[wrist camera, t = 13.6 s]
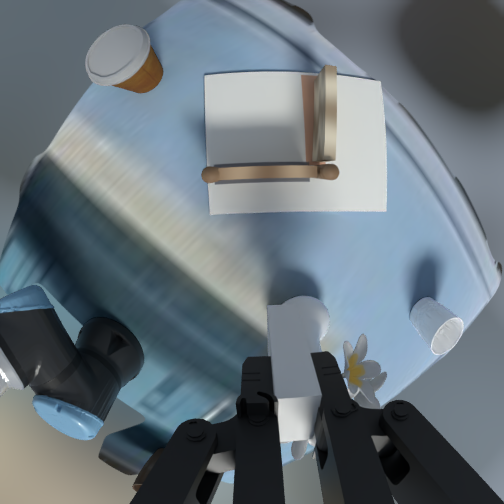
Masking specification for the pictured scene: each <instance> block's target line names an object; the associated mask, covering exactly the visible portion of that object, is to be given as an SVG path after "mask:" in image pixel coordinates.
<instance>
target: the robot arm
mask: <svg viewBox="0 0 504 504" xmlns="http://www.w3.org/2000/svg"><path fill="white" fill-rule="evenodd" d="M267 322H268V356H262V357H247V359H246V360H245V362H244V363H243V364H242V382H241V395H240V396H239V397H238V398H237V401H236V409H237V414H236V415H235V416H234V417H233V418H231V419H230V420H228V421H225V422H221V423H217V424H211V423H210V422H208V421H206V420H204V419H196V418H195V419H190V420H187V421H185V422H183V423H181V424H180V425H179V426H178V428H177V429H176V431H175V432H174V434H173V436H172V437H171V439H170V441H169V442H168V444H167V445H166V447H165V449H164V450H163V452H162V453H161V455H160V457H159V458H158V460H157V462H156V463H155V465H154V466H153V468H152V469H151V471H150V473H149V474H148V476H147V477H146V479H145V481H144V482H143V484H142V485H141V487H140V488H139V490H138V491H137V493H136V495H135V496H134V498H133V499H132V501H131V502H130V504H211V502H212V499H213V497H214V495H215V492H216V490H217V488H218V485H219V483H220V481H221V479H222V476H223V474H224V472H226V471H230V470H235V475H234V493H233V504H285V496H284V483H283V471H282V458H281V446H280V442H287V441H298V440H308V439H313V436H314V434H315V439H316V444H315V448H314V452H313V458H312V459H315V457H316V461H317V466H318V472H319V477H320V484H321V490H322V496H323V502H324V504H395V503H394V500H393V497H394V499H395V500H396V501H397V503H398V504H504V502H503V501H502V500H501V499H500V498H499V496H498V495H497V494H496V493H495V492H494V491H493V490H492V489H491V488H490V487H489V486H488V484H487V483H486V482H485V481H484V480H483V479H482V478H481V477H480V476H479V475H478V474H477V472H476V471H475V470H474V469H473V468H472V467H471V466H470V465H469V464H468V463H467V462H466V461H465V460H464V458H463V457H462V456H461V455H460V454H459V453H458V452H457V451H456V450H455V449H454V448H453V447H452V446H451V445H450V444H449V443H448V441H446V439H445V438H444V437H443V436H442V435H441V434H440V433H439V432H438V431H437V430H436V429H435V428H434V427H433V426H432V425H431V423H430V422H429V421H428V420H427V419H426V418H425V417H424V416H423V415H422V414H421V413H420V412H419V411H418V410H417V409H416V408H415V407H414V406H413V405H412V404H411V403H409V402H407V401H403V400H395V401H392V402H389V403H388V404H387V405H386V406H385V407H384V409H370V408H364V407H361V406H359V404H358V403H357V402H356V401H354V400H353V399H351V397H350V395H349V392H348V390H347V387H346V384H345V382H344V379H343V377H342V374H341V371H340V369H339V367H338V364H337V361H336V359H335V357H334V356H333V355H331V354H330V353H329V352H328V351H325V352H315V353H310V350H309V347H308V343H307V340H306V336H305V333H304V330H303V326H302V323H301V319H300V316H299V313H298V309H297V306H296V304H287V305H267ZM143 364H144V354H143V351H142V348H141V346H140V344H139V342H138V341H137V339H136V338H135V337H134V335H133V334H132V333H131V332H130V331H129V330H128V329H126V328H125V327H124V326H122V325H121V324H119V323H117V322H116V321H113V320H111V319H108V318H102V317H97V318H93V319H90V320H89V321H88V322H87V323H86V324H85V325H84V326H83V327H82V328H81V330H80V332H79V335H78V339H77V341H76V344H75V345H74V343H73V342H72V340H71V338H70V337H69V335H68V333H67V331H66V330H65V328H64V326H63V325H62V323H61V321H60V319H59V317H58V315H57V314H56V312H55V310H54V306H53V305H51V303H50V301H49V299H48V298H47V296H46V294H45V292H44V291H43V289H42V288H41V287H40V286H37V285H31V286H28V287H26V288H23V289H21V290H18V291H16V292H14V293H12V294H9V295H7V296H5V297H3V298H1V299H0V397H1V396H2V395H3V394H4V393H5V392H6V391H7V390H8V389H9V388H14V389H19V390H23V389H24V388H25V387H26V386H27V385H28V384H29V386H30V387H31V388H32V390H33V391H34V392H35V394H36V395H35V396H34V397H33V402H32V404H33V406H34V408H35V410H36V412H37V413H38V414H39V415H40V416H41V417H42V418H43V419H44V420H45V421H46V422H47V423H49V424H50V425H51V426H53V427H54V428H55V429H57V430H59V431H60V432H62V433H64V434H66V435H68V436H70V437H73V438H76V439H80V440H90V439H93V438H94V437H95V436H96V434H97V433H98V431H99V430H100V428H101V427H102V426H103V424H104V421H105V419H106V417H107V414H108V413H109V411H110V408H111V406H112V405H113V403H114V401H115V399H116V397H117V395H118V393H119V391H120V389H121V388H122V387H123V386H125V385H126V384H127V383H128V382H129V381H130V380H132V379H134V378H135V377H136V376H137V375H138V374H139V372H140V370H141V368H142V367H143ZM392 496H393V497H392Z"/></svg>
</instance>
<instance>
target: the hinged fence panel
mask: <svg viewBox="0 0 504 504" xmlns="http://www.w3.org/2000/svg"><path fill="white" fill-rule="evenodd" d="M336 135H337V67H336V66H330V65H325V66H324V67H323V69H322V70H321V72H320V73H319V74H318V76H317V77H316V79H315V80H314V125H313V152H312V161H313V162H329V161H335V160H336Z"/></svg>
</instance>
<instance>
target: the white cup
mask: <svg viewBox="0 0 504 504" xmlns="http://www.w3.org/2000/svg"><path fill="white" fill-rule="evenodd" d="M410 321H411V323H412V325H413V326H414V327H415V329H416V331H417V332H418V333H419V335H420V336H421V338H422V339H423V340H424V342H425V343H426V344H427V346H428V347H429V348H430V350H431V351H432V352H433V353H434V354H436V355H441V354H444V353H446V352H448V351H449V350H450V349H452V348H453V347H454V346H455V345H456V343H457V342H458V340H459V339H460V337H461V335H462V332H463V327H464V324H463V321H462V319H461V318H460V317H458V316H457V315H456V314H454V313H453V312H452V311H450V310H449V309H448V308H446V307H445V306H443V305H442V304H440V303H438V302H436V301H435V300H434V299H432V298H431V297H424V298H422V299H421V300H419V301H418V302H417V303H416V304H415V305H414V306H413V308H412V310H411V313H410Z"/></svg>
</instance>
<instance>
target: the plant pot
mask: <svg viewBox="0 0 504 504" xmlns="http://www.w3.org/2000/svg"><path fill="white" fill-rule="evenodd" d="M164 449H165V448H161V449H158V450H157V451H156V452H155V453H154V454H153V455H152V456H151V457H150V459H149V460H148V461H147V462H146V464H145V465H144V467H143V468H142V470H141V471H140V473H139V475H138V476H137V478H136V480H135V482H134V484H133V486H132V487H133V489H134V490H135V491H136V492H137V491H138V490H139V488H140V487H141V485H142V484H143V482H144V481H145V479H146V477H147V476H148V474H149V473H150V471H151V469H152V468H153V466H154V465H155V463H156V462H157V460H158V458H159V457H160V455H161V453H162V452H163V450H164Z"/></svg>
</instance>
